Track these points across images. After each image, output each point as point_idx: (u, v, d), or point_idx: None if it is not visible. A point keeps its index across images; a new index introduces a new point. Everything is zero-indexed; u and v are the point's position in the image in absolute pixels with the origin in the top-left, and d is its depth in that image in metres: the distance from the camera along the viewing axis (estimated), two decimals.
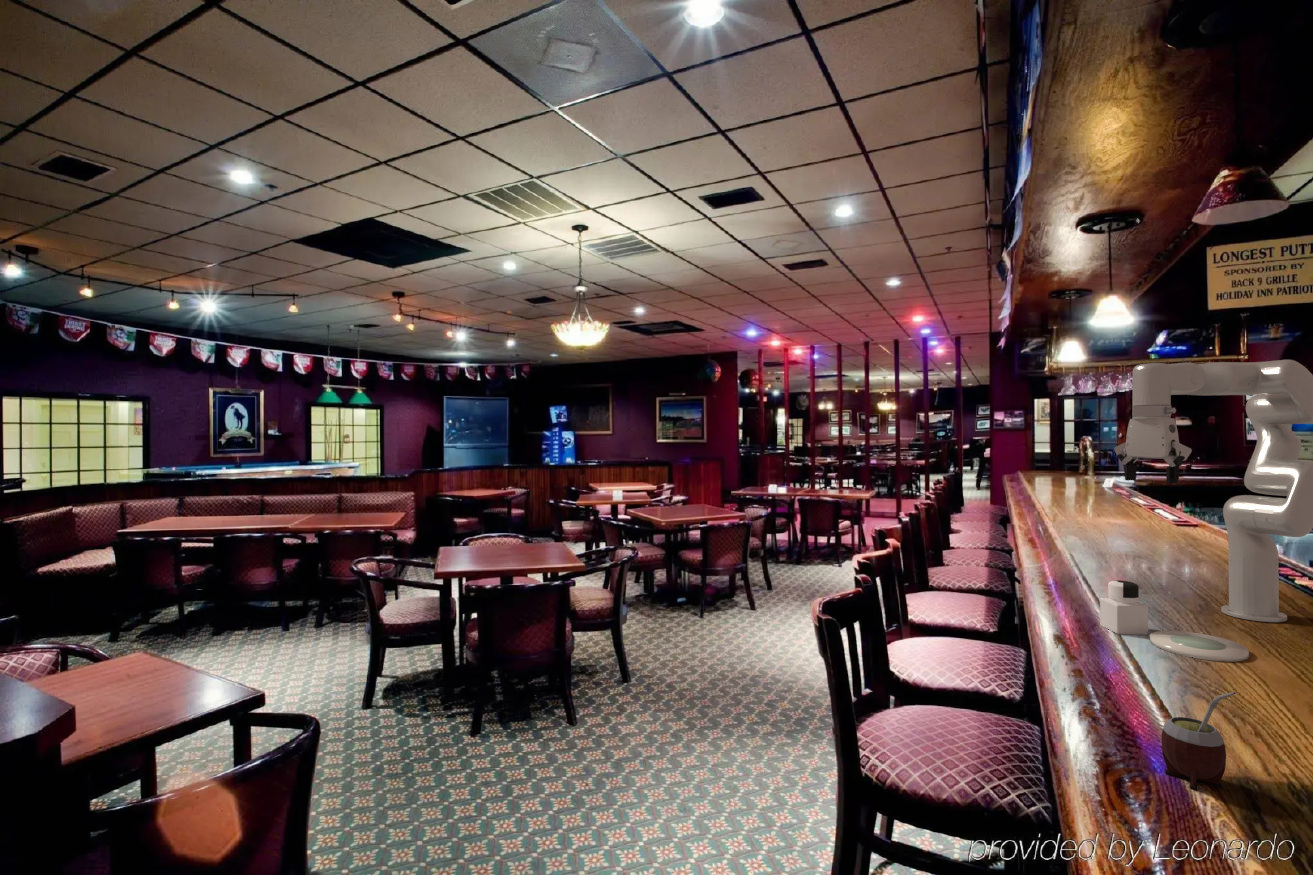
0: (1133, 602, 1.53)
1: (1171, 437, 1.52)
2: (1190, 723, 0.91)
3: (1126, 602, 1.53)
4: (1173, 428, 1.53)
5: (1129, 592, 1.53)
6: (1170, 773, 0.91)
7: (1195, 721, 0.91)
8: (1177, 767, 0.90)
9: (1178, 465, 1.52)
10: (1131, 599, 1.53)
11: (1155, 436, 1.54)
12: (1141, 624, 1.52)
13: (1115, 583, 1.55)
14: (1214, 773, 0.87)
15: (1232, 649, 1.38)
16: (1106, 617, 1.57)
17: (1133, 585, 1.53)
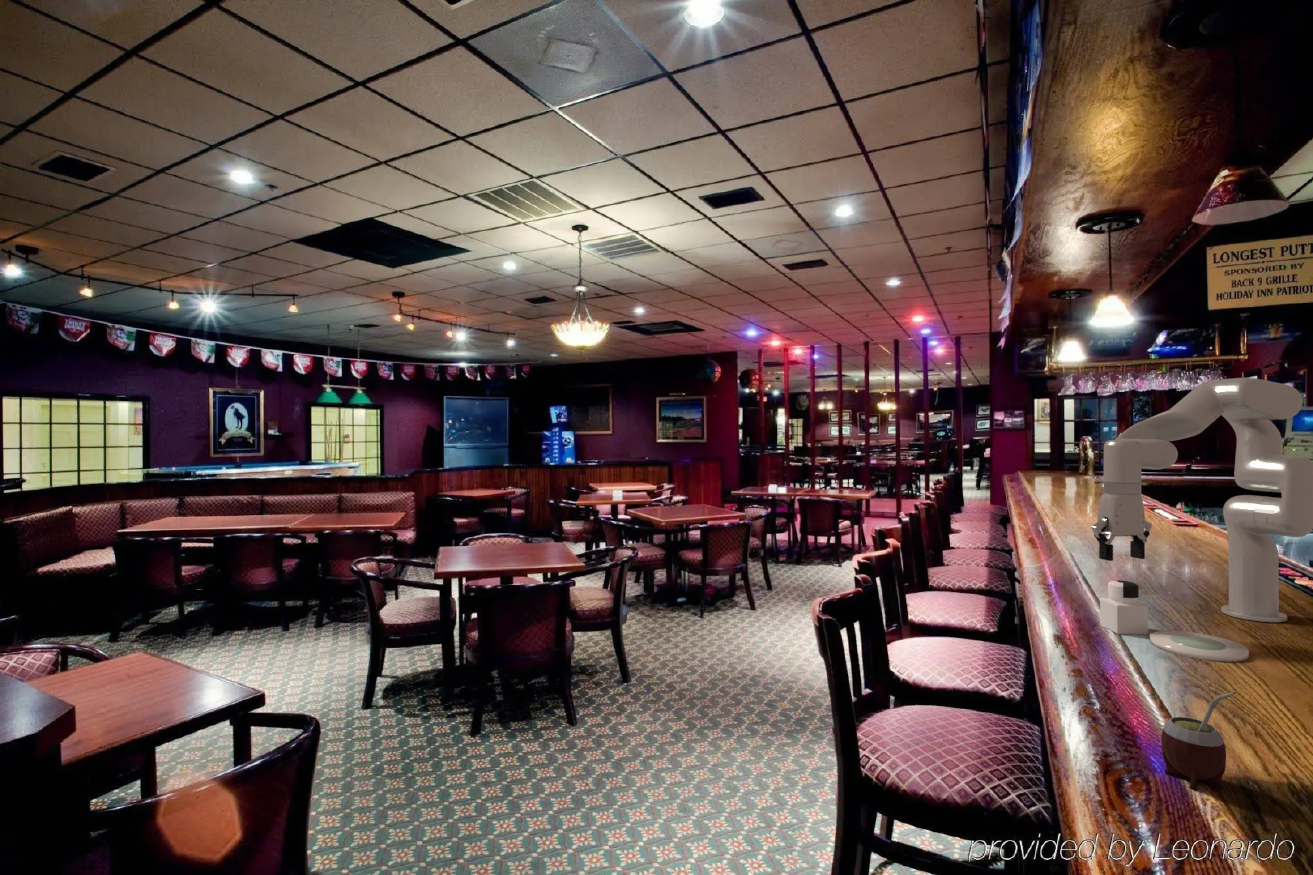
0: (1133, 602, 1.53)
1: None
2: (1190, 723, 0.91)
3: (1126, 602, 1.53)
4: None
5: (1129, 592, 1.53)
6: (1170, 773, 0.91)
7: (1195, 721, 0.91)
8: (1177, 767, 0.90)
9: None
10: (1131, 599, 1.53)
11: (1139, 514, 1.54)
12: (1141, 624, 1.52)
13: (1115, 583, 1.55)
14: (1214, 773, 0.87)
15: (1232, 649, 1.38)
16: (1106, 617, 1.57)
17: (1133, 585, 1.53)
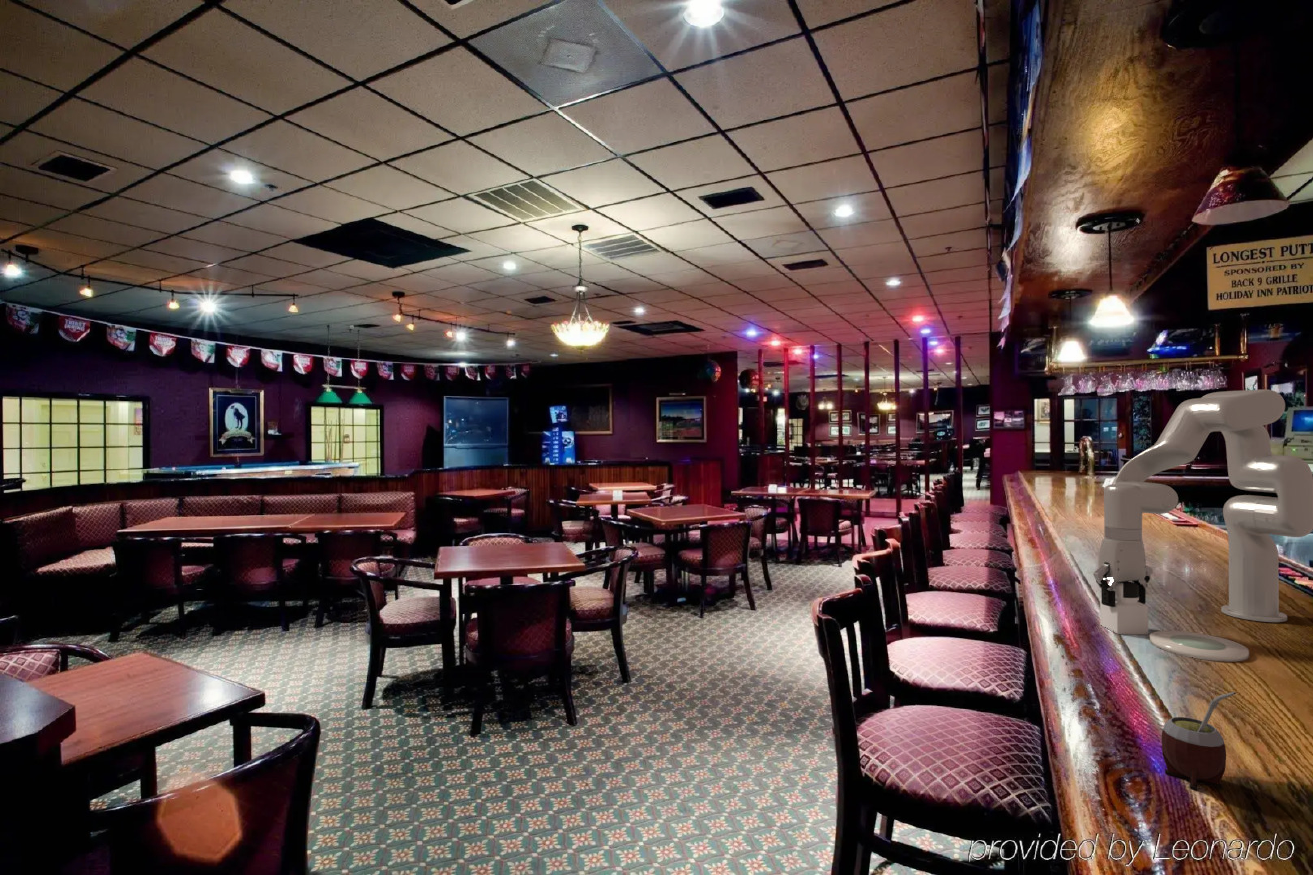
0: (1133, 602, 1.53)
1: None
2: (1190, 723, 0.91)
3: (1126, 602, 1.53)
4: None
5: (1129, 592, 1.53)
6: (1170, 773, 0.91)
7: (1195, 721, 0.91)
8: (1177, 767, 0.90)
9: None
10: (1131, 599, 1.53)
11: (1140, 559, 1.54)
12: (1141, 624, 1.52)
13: None
14: (1214, 773, 0.87)
15: (1232, 649, 1.38)
16: (1106, 617, 1.57)
17: (1133, 585, 1.53)
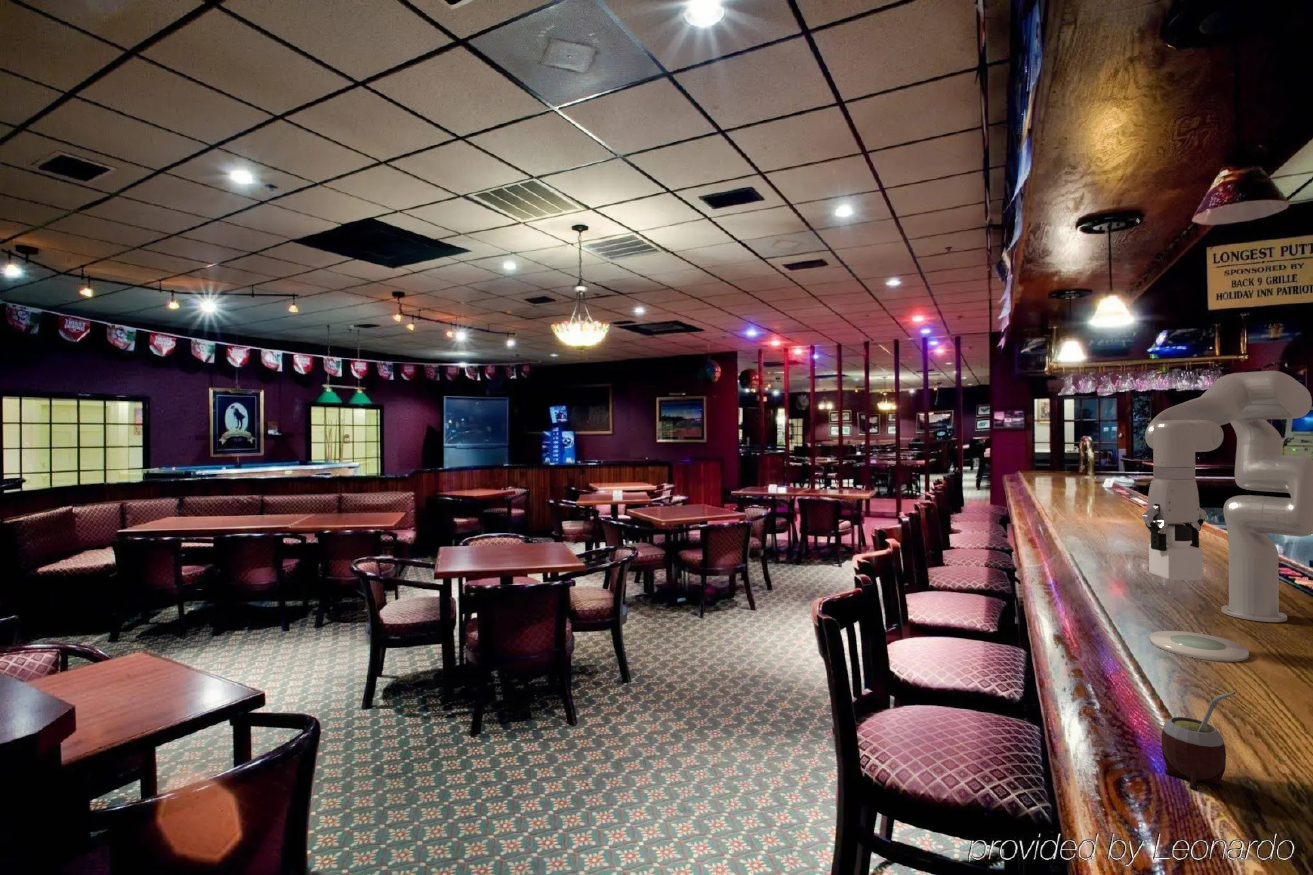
0: (1186, 545, 1.43)
1: None
2: (1190, 723, 0.91)
3: (1178, 546, 1.44)
4: None
5: (1181, 535, 1.43)
6: (1170, 773, 0.91)
7: (1195, 721, 0.91)
8: (1177, 767, 0.90)
9: None
10: (1183, 542, 1.43)
11: (1193, 500, 1.44)
12: (1195, 568, 1.42)
13: None
14: (1214, 773, 0.87)
15: (1232, 649, 1.38)
16: (1155, 563, 1.47)
17: (1186, 527, 1.44)
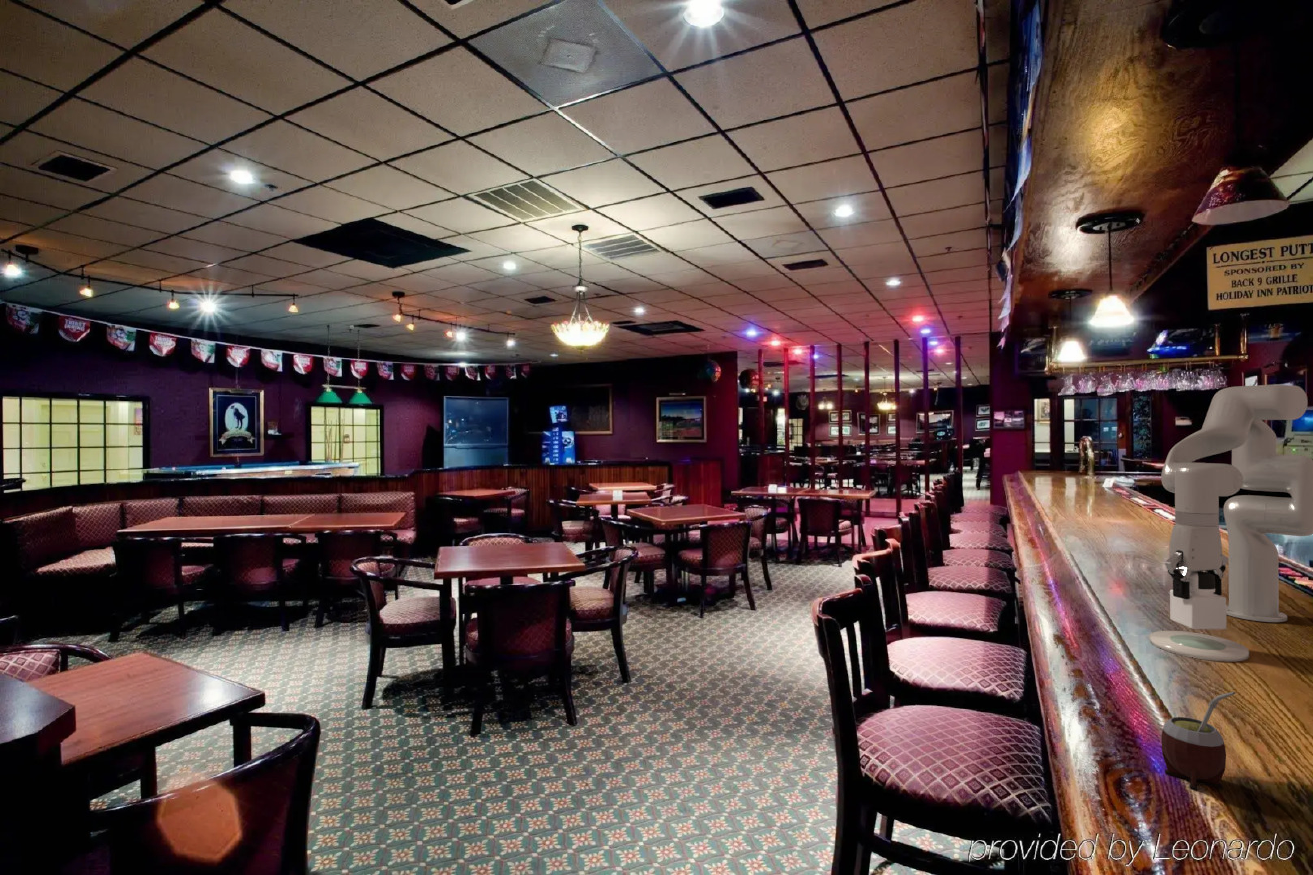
0: (1209, 594, 1.40)
1: None
2: (1190, 723, 0.91)
3: (1202, 594, 1.40)
4: None
5: (1205, 583, 1.40)
6: (1170, 773, 0.91)
7: (1195, 721, 0.91)
8: (1177, 767, 0.90)
9: None
10: (1207, 590, 1.39)
11: (1216, 546, 1.41)
12: (1219, 618, 1.39)
13: None
14: (1214, 773, 0.87)
15: (1232, 649, 1.38)
16: (1177, 611, 1.44)
17: (1209, 575, 1.40)
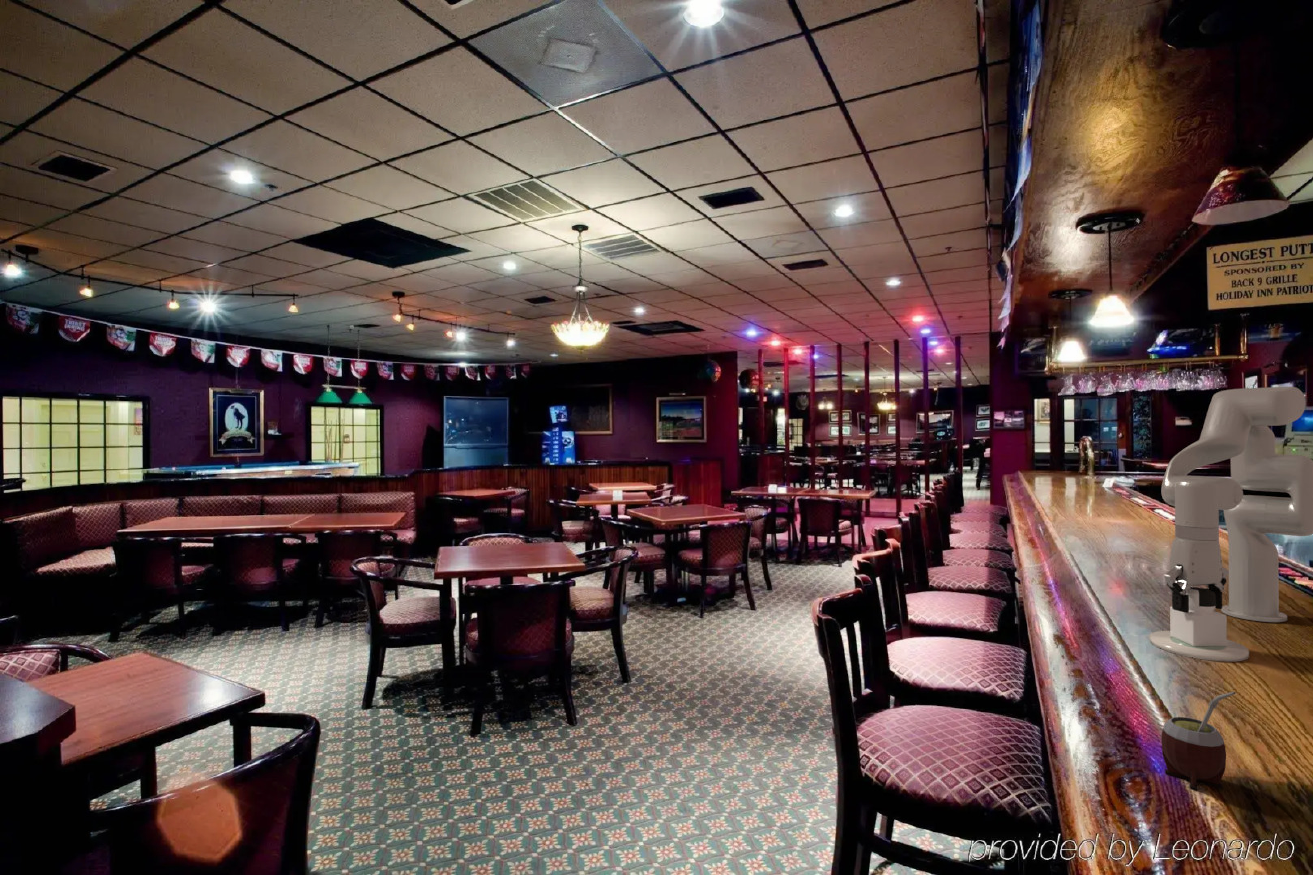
0: (1210, 611, 1.40)
1: None
2: (1190, 723, 0.91)
3: (1202, 611, 1.40)
4: None
5: (1206, 600, 1.40)
6: (1170, 773, 0.91)
7: (1195, 721, 0.91)
8: (1177, 767, 0.90)
9: None
10: (1208, 608, 1.40)
11: (1216, 560, 1.41)
12: (1219, 635, 1.39)
13: (1189, 590, 1.42)
14: (1214, 773, 0.87)
15: (1232, 649, 1.38)
16: (1178, 628, 1.44)
17: (1210, 592, 1.40)
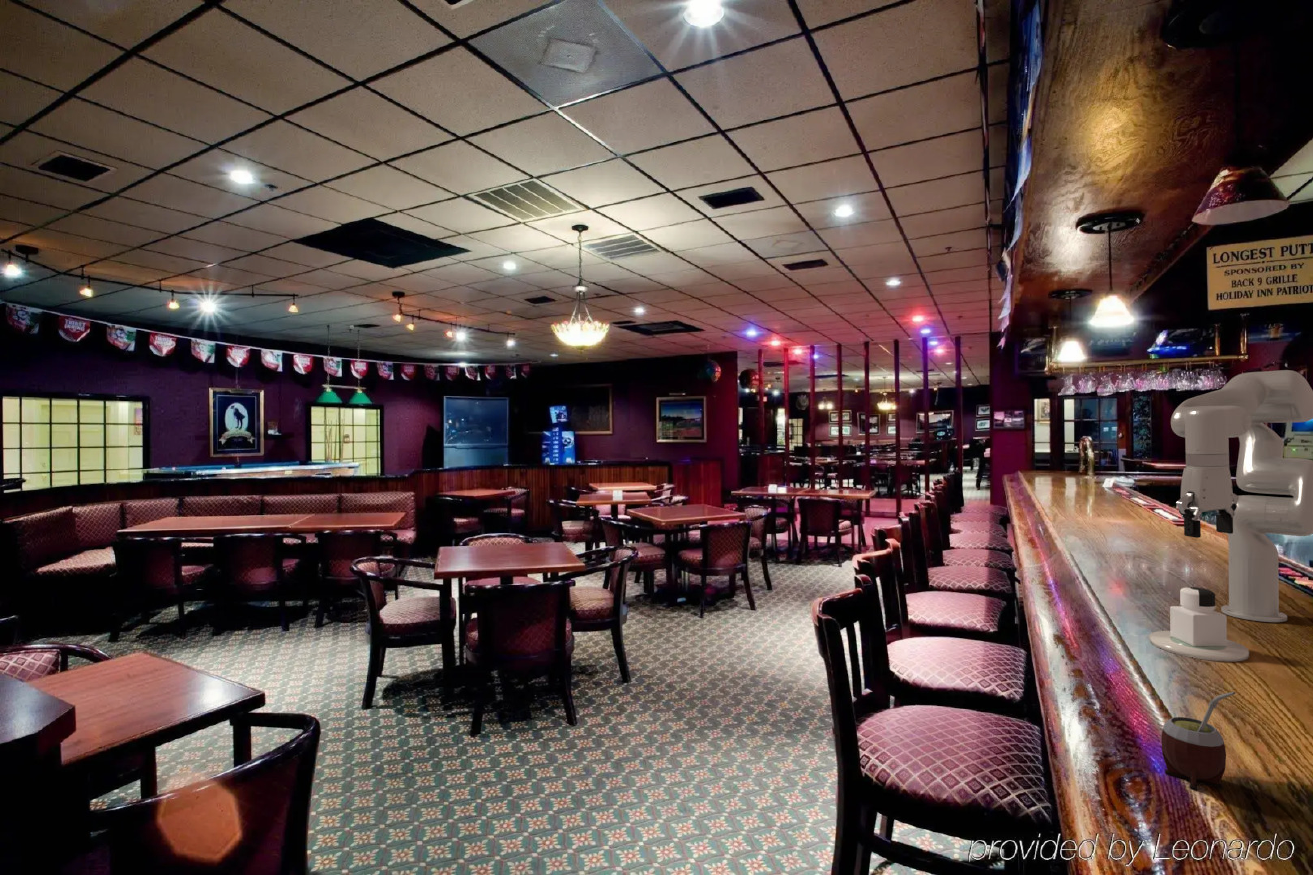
0: (1210, 611, 1.40)
1: None
2: (1190, 723, 0.91)
3: (1202, 611, 1.40)
4: None
5: (1206, 600, 1.40)
6: (1170, 773, 0.91)
7: (1195, 721, 0.91)
8: (1177, 767, 0.90)
9: None
10: (1208, 608, 1.40)
11: (1227, 486, 1.44)
12: (1219, 635, 1.39)
13: (1189, 590, 1.42)
14: (1214, 773, 0.87)
15: (1232, 649, 1.38)
16: (1178, 628, 1.44)
17: (1210, 592, 1.40)
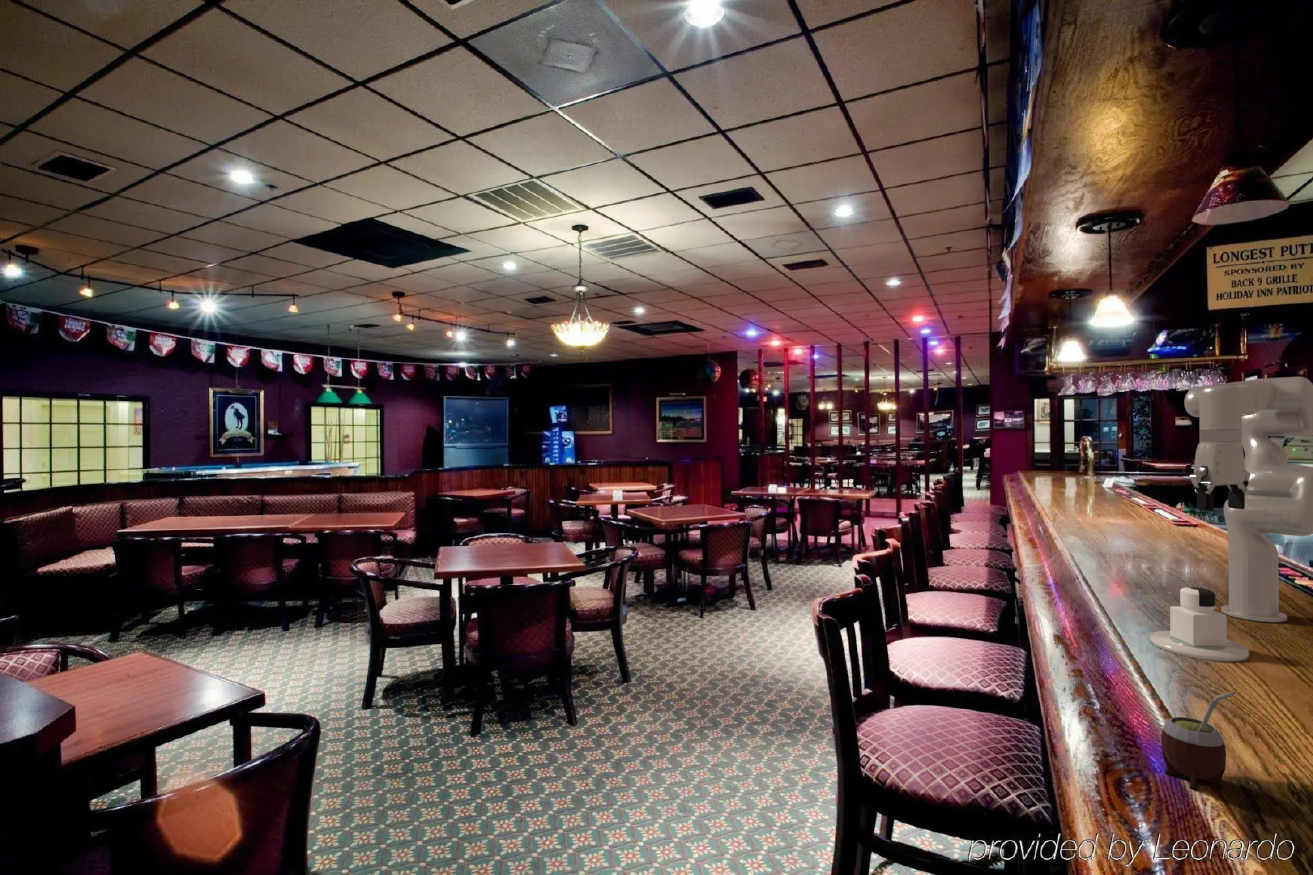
0: (1210, 611, 1.40)
1: None
2: (1190, 723, 0.91)
3: (1202, 611, 1.40)
4: None
5: (1206, 600, 1.40)
6: (1170, 773, 0.91)
7: (1195, 721, 0.91)
8: (1177, 767, 0.90)
9: None
10: (1208, 608, 1.40)
11: (1239, 462, 1.48)
12: (1219, 635, 1.39)
13: (1189, 590, 1.42)
14: (1214, 773, 0.87)
15: (1232, 649, 1.38)
16: (1178, 628, 1.44)
17: (1210, 592, 1.40)
